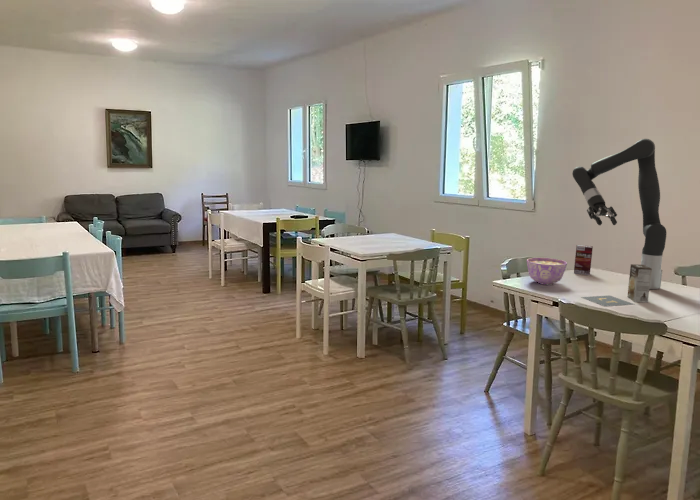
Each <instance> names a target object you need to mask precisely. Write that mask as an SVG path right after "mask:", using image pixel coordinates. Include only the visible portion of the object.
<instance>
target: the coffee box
mask: <svg viewBox="0 0 700 500" xmlns="http://www.w3.org/2000/svg"><path fill="white" fill-rule="evenodd" d="M651 272H652V269H651V268H650V267H648V266H646V265H641V264H636V263H635V264H634V263H633V264H630V268H629V276H628V277H629V278H628V288H627V298H628V299H630V300H631V301H632V302H634V303H648V302H649V296H650V289H649V288H650V280H651Z"/></svg>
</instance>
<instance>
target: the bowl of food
mask: <svg viewBox="0 0 700 500" xmlns="http://www.w3.org/2000/svg"><path fill="white" fill-rule="evenodd" d="M526 265H527V271H528V275H529V277H530V279H531V280H533V281H534V282H536V283H537V282H538V283H537V284H539V283H541V284H540V285H545V284H551V285H554V284H555V283H558V282H560V281H561V280H562V279H563V276H564V273H565V271H566V268H567V265H568V262H567V261H566V260H562V259H559V258H551V257H531V258H527V259H526Z"/></svg>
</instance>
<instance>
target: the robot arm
mask: <svg viewBox="0 0 700 500" xmlns="http://www.w3.org/2000/svg"><path fill="white" fill-rule="evenodd" d="M635 160H637V164H638V165H637V166H638V177H637V178H638V179H637V182H638V184H637V187H638V188H637V189H638V194H639V195H638V196H639V202H640V206H641V211H642V233H643V236H644V237H645V238H644V245H643V247H642V251H641V261H640V265H646V266H648V267H650V268H651V269H652V272H651V280H650V288H649V290H659V289H661V286H662V277H663V269H662V263H663V254H664V250H665V247H666V240H667V228H666V227H665V226H664V225H663V224H662V222H661V219H660V213H659V209H660V202H661V201H660V200H661V188H660V182H659V177H658V172H657V168H656V145H655V142H654V141H653V140H651V139H649V138H642V139H639V140H637V141H636V142H635V143H634V144H632V145H631V146H629V147H627V148H626V149H624V150H621V151H619V152H617V153H614V154H611V155H607V156H605V157H603V158H601V159H599V160H597V161H596V160H595V162H592V163H591V165H590V168H588V169H586V168H585V167H584V166H581V165H580V166H576V167H574V168H573V169H572V177H573V179H574V181H575V183H576V184H577V185H578V186H579V188H580V190H581V192H582V195H583V196H584V199H585V201H586V203H587V205H588V207H587V209H586V212H587V214H588V216H589V218H590V219H591V220H595V222H596V223H597V225H598V226H601V225H602V224H603V222H602V219H601V216H602V217H605V218H608V219H609V221H610V222H611V224H612V226H615V225H617V224H618V221H617V219H616V217H617V216H618V214H617V212H616V211H615V209H614V208H613V206H612V205H611V206H610V207H607V206H606V200H605V199H604V197H603V195H602V194H601V192H600V191H599V190H598V188H597V186H596V184H595V183H594V182H593V180H594V179H595V178H597V177H599V176H600V175H602V174H605V173H607V172H609V171H612V170H614V169H616V168H618V167H620V166H622V165H624V164H626V163H628V162H632V161H635Z"/></svg>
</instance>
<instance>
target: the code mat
mask: <svg viewBox="0 0 700 500" xmlns="http://www.w3.org/2000/svg"><path fill="white" fill-rule="evenodd" d="M581 298H582V299H584V300H587V301H590V302H592V303H596V304H597V305H601V306H603V307H614V306H615V307H617V306H629V305H634V303H632V302H629V301H627V300H623V299H621V298H619V297H615V296H612V295H596V296H582V297H581Z"/></svg>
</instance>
